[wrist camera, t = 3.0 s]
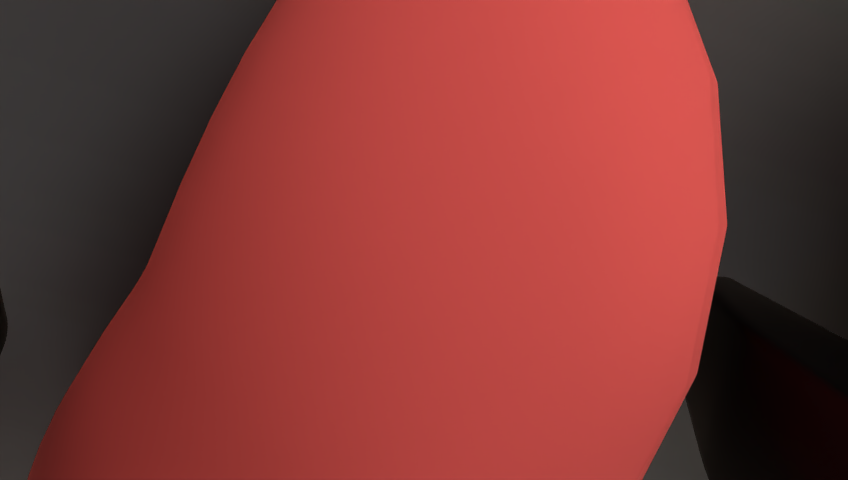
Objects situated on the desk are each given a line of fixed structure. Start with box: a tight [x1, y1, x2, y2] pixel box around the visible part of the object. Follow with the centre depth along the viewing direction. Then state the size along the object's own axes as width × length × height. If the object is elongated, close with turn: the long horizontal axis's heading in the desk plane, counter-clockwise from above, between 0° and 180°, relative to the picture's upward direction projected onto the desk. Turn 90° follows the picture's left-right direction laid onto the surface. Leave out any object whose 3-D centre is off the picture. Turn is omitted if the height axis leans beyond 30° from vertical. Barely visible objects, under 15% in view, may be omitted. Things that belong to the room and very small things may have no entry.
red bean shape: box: [28, 0, 727, 480], centre depth 8 cm, size 5×9×6 cm, turn 136°
